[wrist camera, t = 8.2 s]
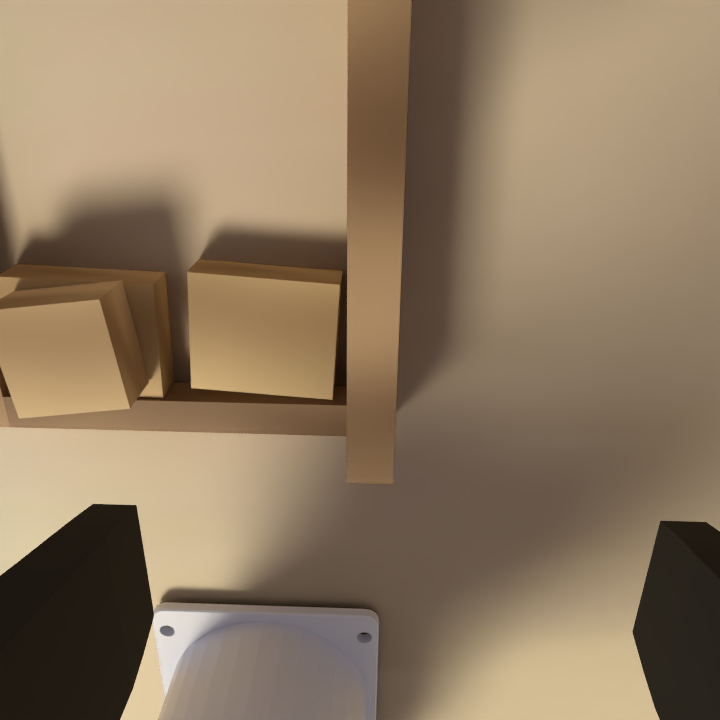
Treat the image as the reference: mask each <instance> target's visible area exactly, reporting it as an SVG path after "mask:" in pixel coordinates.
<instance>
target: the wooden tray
mask: <svg viewBox="0 0 720 720" xmlns="http://www.w3.org/2000/svg"><path fill="white" fill-rule="evenodd" d="M411 6H412V0H348V133H347V386H335V387H334V393H333V399H332V400H329V399H317V398H305V397H293V396H281V395H269V394H257V393H245V392H233V391H221V390H209V389H197V388H191V383H189V382H173V383H172V385H171V386H170V388H169V390H168V391H167V393H166V394H165V396H164V397H163V398H152V397H138V398H137V400H136V401H135V403H134V404H133V405H132V407H131V408H130V409H121V410H110V411H99V412H88V413H76V414H65V415H54V416H43V417H32V418H20V419H19V417H18V414H17V411H16V409H15V406H14V403H13V400H12V398H11V395H10V392H9V389H8V386H7V384H6V381H5V378H4V375H3V373H2V370H1V367H0V427H24V428H62V429H99V430H137V431H175V432H213V433H251V434H288V435H326V436H347V483H373V484H393V475H394V449H395V423H396V397H397V371H398V345H399V319H400V292H401V266H402V240H403V214H404V188H405V162H406V136H407V110H408V84H409V58H410V32H411Z"/></svg>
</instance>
